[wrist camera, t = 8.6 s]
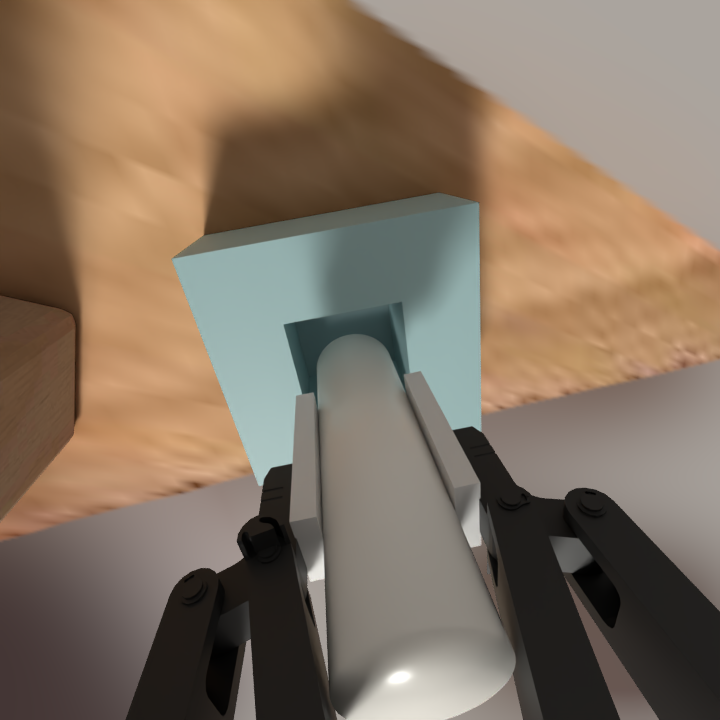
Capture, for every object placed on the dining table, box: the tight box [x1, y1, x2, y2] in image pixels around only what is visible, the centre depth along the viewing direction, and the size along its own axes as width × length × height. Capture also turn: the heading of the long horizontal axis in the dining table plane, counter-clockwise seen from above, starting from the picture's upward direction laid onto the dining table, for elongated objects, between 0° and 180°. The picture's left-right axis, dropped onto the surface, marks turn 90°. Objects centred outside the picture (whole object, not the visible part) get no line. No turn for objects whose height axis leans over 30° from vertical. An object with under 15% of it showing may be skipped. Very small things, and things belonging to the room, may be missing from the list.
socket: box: [172, 193, 481, 486], centre depth 23 cm, size 14×14×6 cm
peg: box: [317, 334, 516, 720], centre depth 14 cm, size 4×4×14 cm
